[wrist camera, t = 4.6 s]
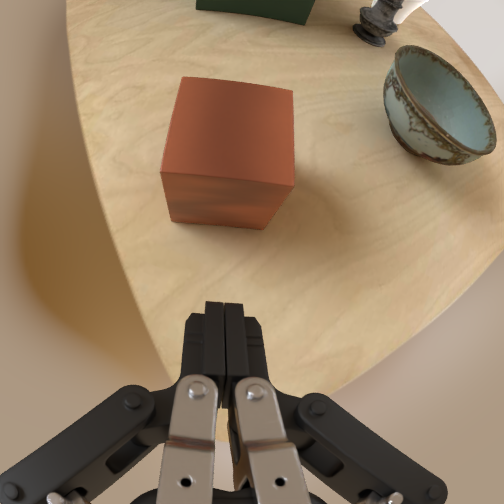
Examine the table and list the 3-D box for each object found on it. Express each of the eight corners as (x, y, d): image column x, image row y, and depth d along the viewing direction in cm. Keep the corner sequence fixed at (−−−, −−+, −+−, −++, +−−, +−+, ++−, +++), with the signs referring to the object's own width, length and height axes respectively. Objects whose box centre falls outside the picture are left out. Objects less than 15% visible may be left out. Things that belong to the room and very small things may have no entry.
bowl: (426, 212, 27) (482, 181, 19) (335, 112, 27) (371, 60, 20) (464, 152, 31) (504, 123, 23) (393, 75, 31) (424, 36, 24)
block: (170, 221, 22) (159, 172, 15) (183, 142, 24) (182, 75, 16) (263, 230, 23) (295, 186, 16) (266, 151, 25) (293, 90, 17)
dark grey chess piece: (345, 19, 33) (377, -39, 21) (378, 29, 34) (413, -24, 22) (357, 42, 32) (395, -21, 20) (392, 52, 33) (432, -3, 21)
